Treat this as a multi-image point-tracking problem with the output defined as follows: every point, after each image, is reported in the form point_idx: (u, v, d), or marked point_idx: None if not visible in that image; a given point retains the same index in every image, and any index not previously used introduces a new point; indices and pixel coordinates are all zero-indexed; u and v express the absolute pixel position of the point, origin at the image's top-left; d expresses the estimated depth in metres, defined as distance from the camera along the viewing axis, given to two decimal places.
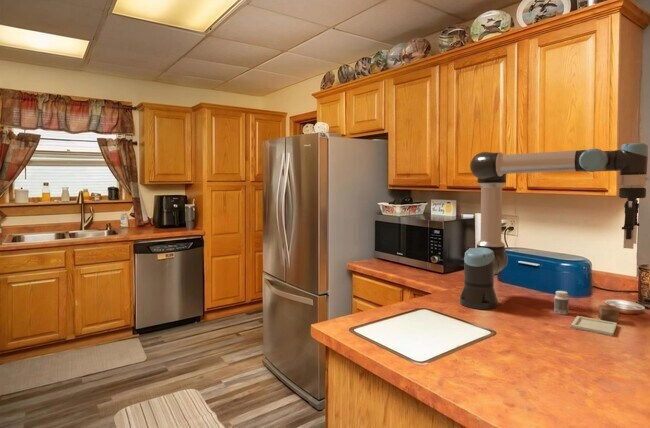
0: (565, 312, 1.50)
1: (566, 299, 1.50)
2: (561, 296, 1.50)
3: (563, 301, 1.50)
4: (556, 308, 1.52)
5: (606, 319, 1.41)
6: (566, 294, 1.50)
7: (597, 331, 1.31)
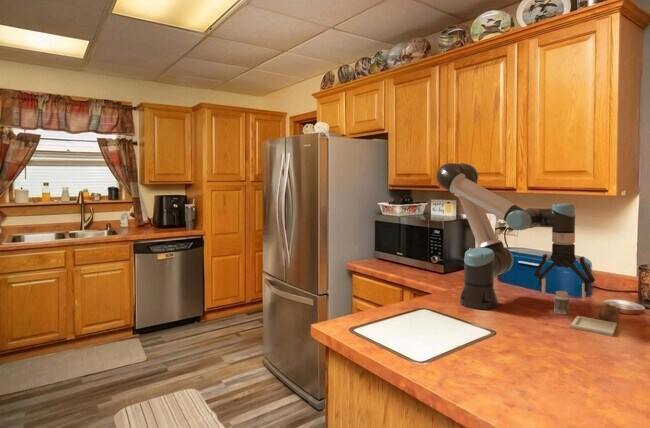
0: (565, 312, 1.50)
1: (566, 299, 1.50)
2: (561, 296, 1.50)
3: (563, 301, 1.50)
4: (556, 308, 1.52)
5: (606, 319, 1.41)
6: (566, 294, 1.50)
7: (597, 331, 1.31)
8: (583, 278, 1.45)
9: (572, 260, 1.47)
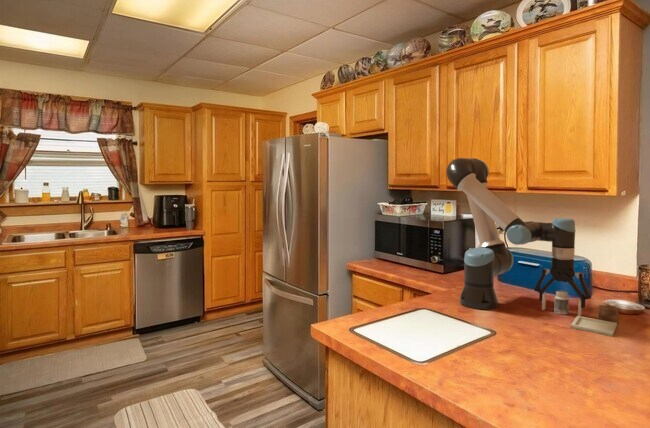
0: (565, 312, 1.50)
1: (566, 299, 1.50)
2: (561, 296, 1.50)
3: (563, 301, 1.50)
4: (556, 308, 1.52)
5: (606, 319, 1.41)
6: (566, 294, 1.50)
7: (597, 331, 1.31)
8: (580, 294, 1.46)
9: (571, 275, 1.48)
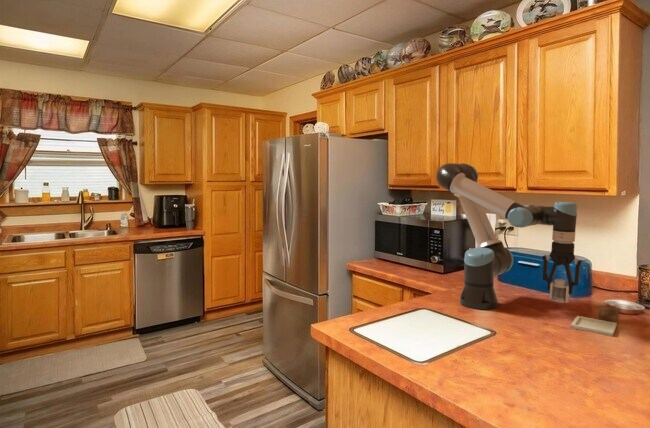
0: (563, 300, 1.50)
1: (565, 287, 1.50)
2: (560, 284, 1.50)
3: (562, 289, 1.50)
4: (554, 296, 1.52)
5: (606, 319, 1.41)
6: (565, 282, 1.50)
7: (597, 331, 1.31)
8: (570, 280, 1.49)
9: (570, 259, 1.48)
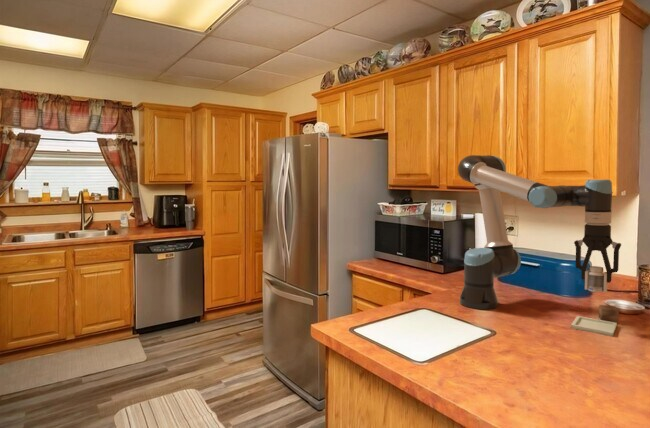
0: (601, 289, 1.33)
1: (602, 275, 1.33)
2: (596, 271, 1.34)
3: (599, 277, 1.33)
4: (590, 285, 1.35)
5: (606, 319, 1.41)
6: (602, 269, 1.33)
7: (597, 331, 1.31)
8: (608, 267, 1.32)
9: (607, 243, 1.32)
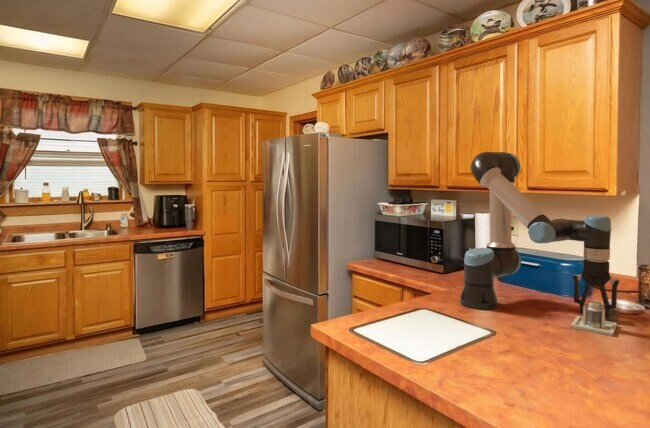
0: (599, 325, 1.34)
1: (600, 311, 1.34)
2: (594, 307, 1.35)
3: (597, 313, 1.34)
4: (588, 320, 1.36)
5: (606, 319, 1.41)
6: (600, 305, 1.35)
7: (597, 331, 1.31)
8: (606, 303, 1.33)
9: (605, 279, 1.33)
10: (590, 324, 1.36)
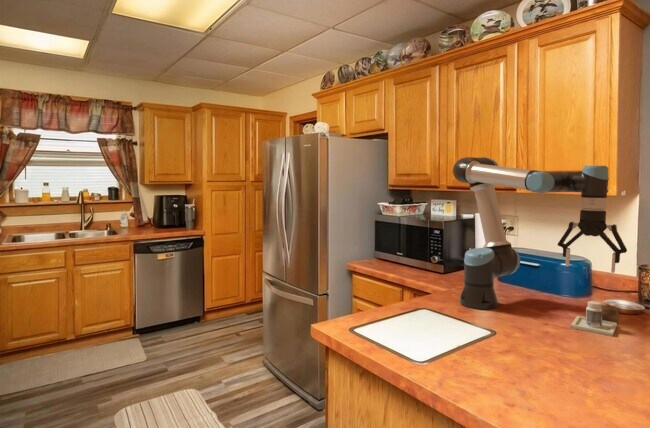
0: (599, 325, 1.34)
1: (600, 311, 1.34)
2: (594, 307, 1.35)
3: (597, 313, 1.34)
4: (588, 320, 1.36)
5: (606, 319, 1.41)
6: (600, 305, 1.35)
7: (597, 331, 1.31)
8: (614, 248, 1.32)
9: (602, 228, 1.33)
10: (590, 324, 1.36)
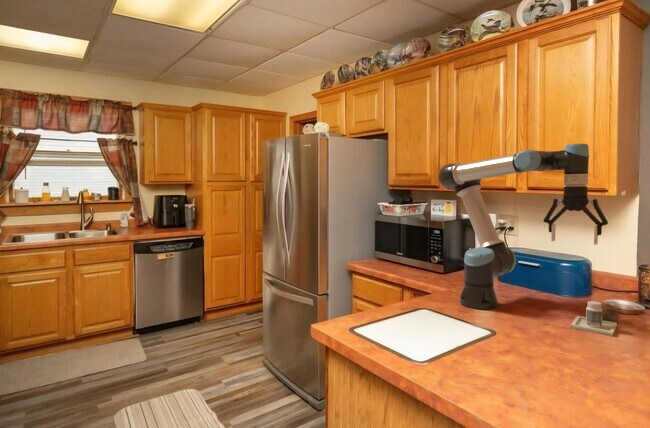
0: (599, 325, 1.34)
1: (600, 311, 1.34)
2: (594, 307, 1.35)
3: (597, 313, 1.34)
4: (588, 320, 1.36)
5: (606, 319, 1.41)
6: (600, 305, 1.35)
7: (597, 331, 1.31)
8: (596, 221, 1.39)
9: (585, 203, 1.41)
10: (590, 324, 1.36)
